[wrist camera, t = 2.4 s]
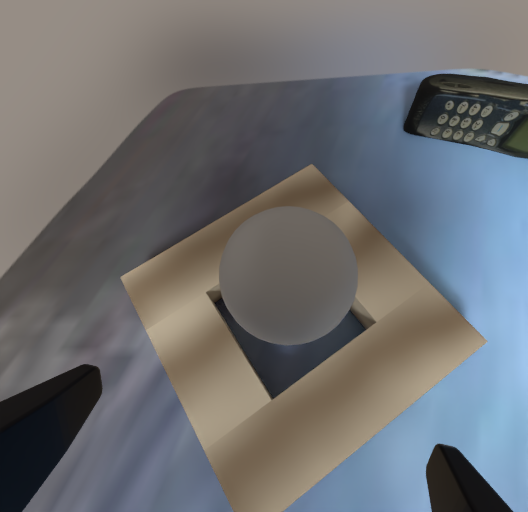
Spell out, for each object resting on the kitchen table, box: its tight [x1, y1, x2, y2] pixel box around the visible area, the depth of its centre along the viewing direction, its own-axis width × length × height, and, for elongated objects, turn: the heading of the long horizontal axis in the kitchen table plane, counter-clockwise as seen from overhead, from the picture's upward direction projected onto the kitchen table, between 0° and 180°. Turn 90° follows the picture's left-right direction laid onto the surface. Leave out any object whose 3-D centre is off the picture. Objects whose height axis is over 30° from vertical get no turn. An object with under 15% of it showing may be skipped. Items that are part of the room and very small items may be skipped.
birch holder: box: [120, 164, 488, 512], centre depth 20 cm, size 16×16×2 cm
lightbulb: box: [219, 206, 358, 345], centre depth 16 cm, size 6×6×11 cm
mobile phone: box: [404, 74, 528, 158], centre depth 24 cm, size 5×3×15 cm
